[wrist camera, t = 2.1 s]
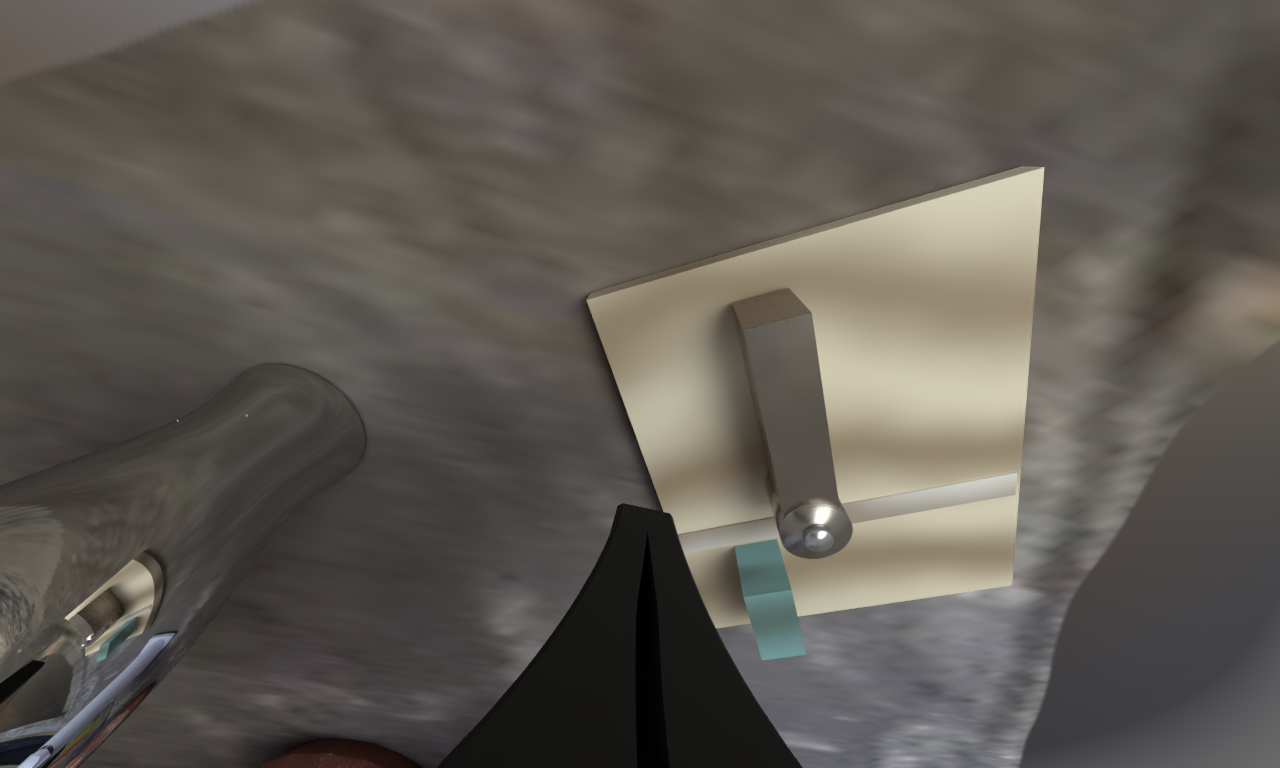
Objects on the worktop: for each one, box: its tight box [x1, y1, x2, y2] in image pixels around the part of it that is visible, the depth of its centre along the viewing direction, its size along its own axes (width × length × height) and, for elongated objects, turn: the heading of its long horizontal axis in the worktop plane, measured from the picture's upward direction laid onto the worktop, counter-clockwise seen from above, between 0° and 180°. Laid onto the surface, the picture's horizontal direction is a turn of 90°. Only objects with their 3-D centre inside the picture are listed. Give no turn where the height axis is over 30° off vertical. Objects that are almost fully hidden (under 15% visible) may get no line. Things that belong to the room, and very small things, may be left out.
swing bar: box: [732, 288, 853, 559], centre depth 16 cm, size 10×3×3 cm, turn 17°
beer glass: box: [0, 364, 366, 768], centre depth 14 cm, size 7×7×15 cm
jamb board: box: [587, 166, 1044, 660], centre depth 18 cm, size 19×15×4 cm
